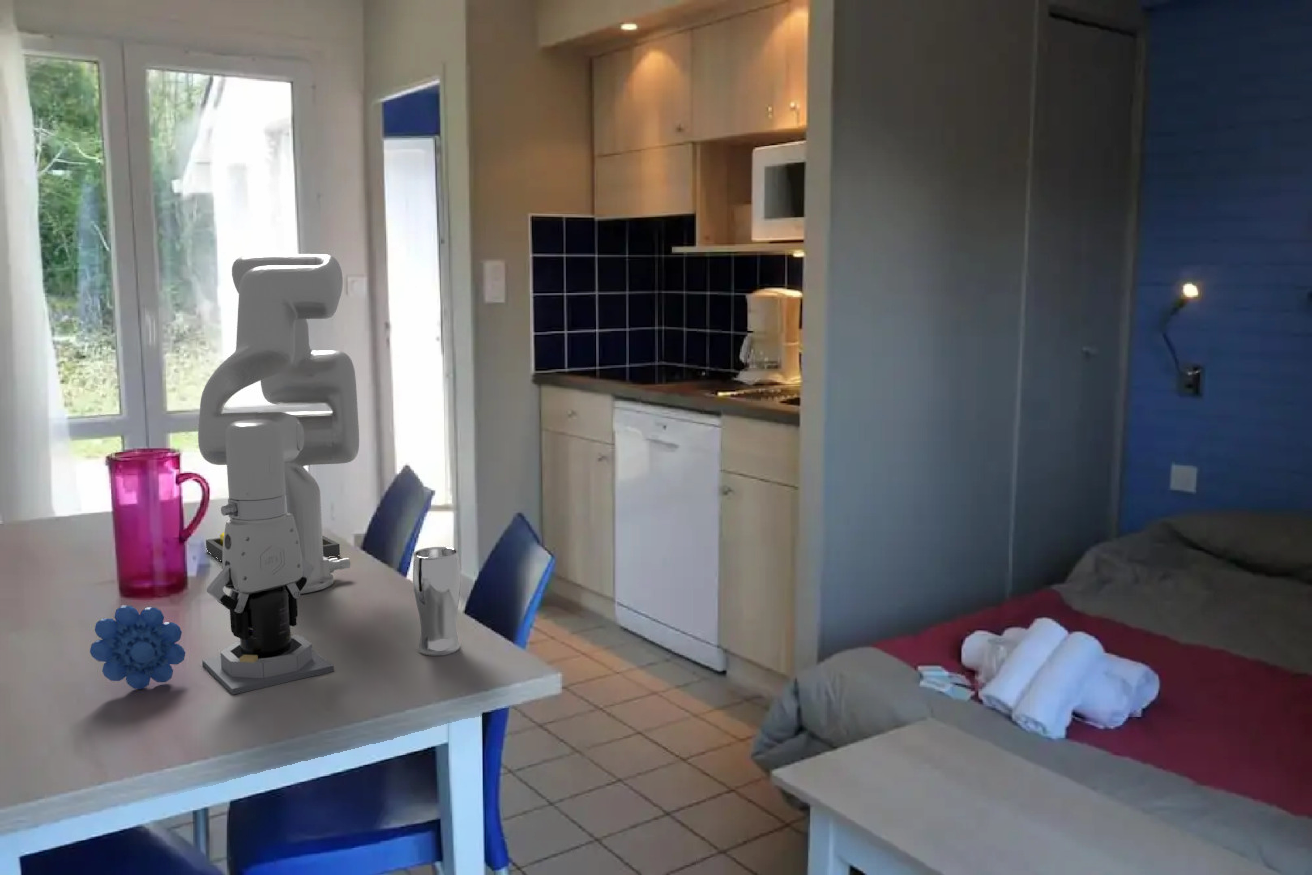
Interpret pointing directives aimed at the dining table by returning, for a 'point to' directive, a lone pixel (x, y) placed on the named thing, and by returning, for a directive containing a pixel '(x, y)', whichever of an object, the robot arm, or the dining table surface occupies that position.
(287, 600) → the supplement bottle
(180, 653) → the blue petal flower
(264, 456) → the robot arm
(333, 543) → the shallow dark tray
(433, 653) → the beer glass
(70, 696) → the dining table surface
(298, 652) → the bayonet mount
